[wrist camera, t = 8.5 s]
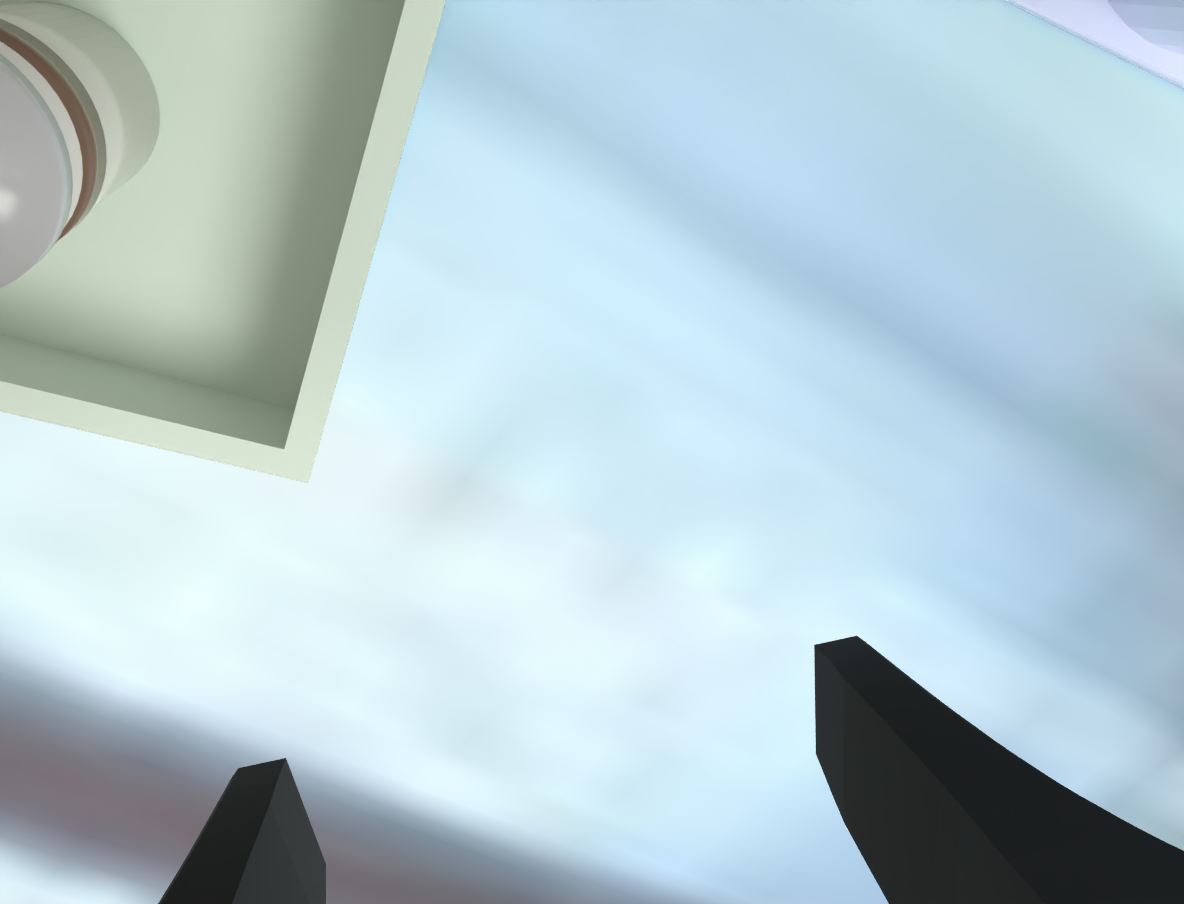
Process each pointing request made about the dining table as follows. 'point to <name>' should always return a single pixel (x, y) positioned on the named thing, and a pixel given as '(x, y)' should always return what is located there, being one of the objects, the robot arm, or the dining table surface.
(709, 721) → the dining table surface
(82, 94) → the cylinder
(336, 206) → the parts tray
